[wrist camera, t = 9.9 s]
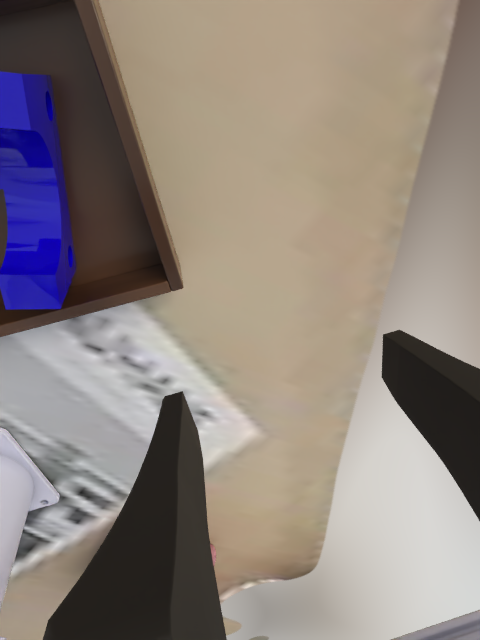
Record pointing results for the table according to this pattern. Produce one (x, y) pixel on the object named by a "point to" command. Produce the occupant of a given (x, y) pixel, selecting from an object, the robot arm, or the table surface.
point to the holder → (90, 162)
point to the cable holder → (33, 195)
